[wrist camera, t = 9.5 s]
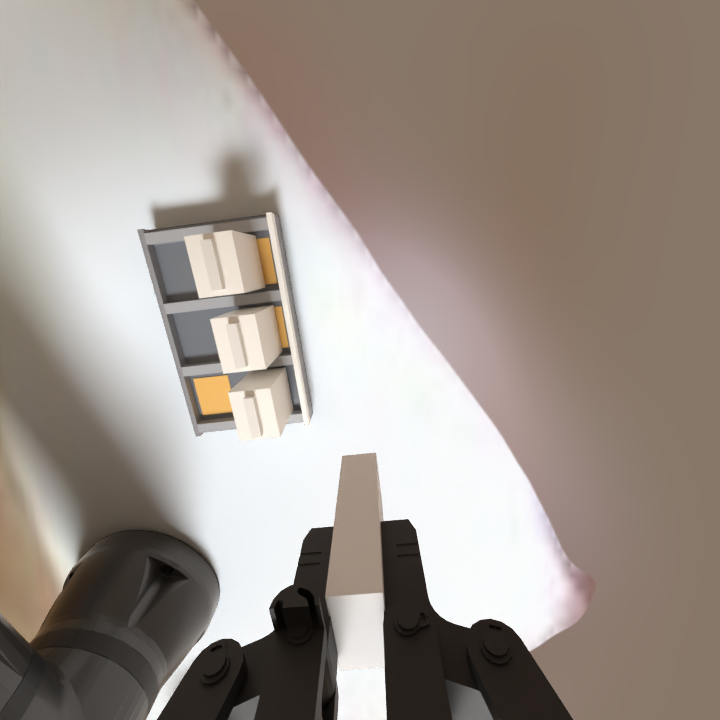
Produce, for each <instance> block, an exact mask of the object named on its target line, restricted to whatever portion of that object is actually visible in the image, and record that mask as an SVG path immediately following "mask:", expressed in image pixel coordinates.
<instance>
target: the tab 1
mask: <svg viewBox="0 0 720 720" xmlns="http://www.w3.org/2000/svg"><path fill="white" fill-rule="evenodd" d="M184 240H185V244H186V248H187V252H188V256H189V260H190V264H191V268H192V272H193V276H194V280H195V284H196V288H197V292H198V296H199V298H207V297H216V296H224V295H232V294H240V293H246V292H250V291H254V290H258V289H262V288H265V282H264V277H263V271H262V266H261V261H260V256H259V251H258V246H257V240H256V236H254V235H250V234H246V233H241V232H237V231H233V230H229V231H221V232H213V233H206V234H198V235H190V236H184Z"/></svg>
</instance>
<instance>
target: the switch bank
mask: <svg viewBox="0 0 720 720" xmlns="http://www.w3.org/2000/svg"><path fill="white" fill-rule="evenodd" d="M229 230H233V231H237V232H241V233H246V234H250V235H254V236H256V240H257V246H258V251H259V256H260V261H261V266H262V271H263V277H264V282H265V288H262V289H258V290H254V291H250V292H246V293H240V294H232V295H224V296H216V297H207V298H199V296H198V292H197V288H196V284H195V280H194V276H193V272H192V268H191V264H190V260H189V256H188V252H187V248H186V244H185V240H184V236H190V235H198V234H206V233H213V232H221V231H229ZM138 234H139V237H140V241H141V244H142V248H143V251H144V255H145V258H146V262H147V266H148V269H149V273H150V276H151V280H152V283H153V287H154V290H155V294H156V297H157V301H158V304H159V308H160V311H161V315H162V318H163V322H164V326H165V329H166V333H167V336H168V340H169V343H170V347H171V350H172V354H173V357H174V361H175V364H176V368H177V371H178V375H179V378H180V382H181V386H182V389H183V393H184V396H185V400H186V403H187V407H188V410H189V414H190V417H191V421H192V424H193V428H194V431H195V435H196V436H201V435H202V434H203V433H204V432H212V431H222V430H232V429H237V428H236V424H235V420H234V416H233V411H232V407H231V403H230V399H229V395H228V392H229V391H230V390H231V389H232V388H233V387H234V386H235V385H236V384H237V383H238V382H240V381H241V380H242V379H243V378H244V377H245V376H246V375H247V374H248V373H249V372H250V371H244V372H235V373H226V374H223V371H222V366H221V362H220V358H219V354H218V350H217V346H216V342H215V338H214V334H213V330H212V325H211V321H210V319H212V318H215V317H217V316H220V315H223V314H225V313H228V312H231V311H233V310H236V309H243V308H252V307H260V306H268V305H274V309H275V314H276V320H277V325H278V330H279V336H280V341H281V346H282V352H281V353H280V354H279V355H278V357H277V358H276V359H275V360H274V361H273V362H272V363H271V364H270V365H269V366H268V368H267V369H275V368H284V367H286V373H287V378H288V383H289V389H290V394H291V399H292V404H293V411H292V413H291V415H290V417H289V419H288V421H287V423H286V424H290V423H299V422H304V425H309V423H310V420H311V417H312V414H313V411H312V406H311V400H310V394H309V388H308V382H307V377H306V371H305V365H304V359H303V353H302V348H301V342H300V336H299V330H298V324H297V319H296V313H295V307H294V301H293V295H292V289H291V284H290V278H289V272H288V266H287V260H286V255H285V249H284V243H283V237H282V231H281V226H280V220H279V216H277V215H276V214H274V213H272V212H268V213H266V215H260V216H252V217H245V218H237V219H230V220H222V221H214V222H207V223H199V224H192V225H184V226H176V227H169V228H161V229H154V230H145V229H140V230H138ZM262 370H266V369H262ZM253 371H257V370H253Z"/></svg>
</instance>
